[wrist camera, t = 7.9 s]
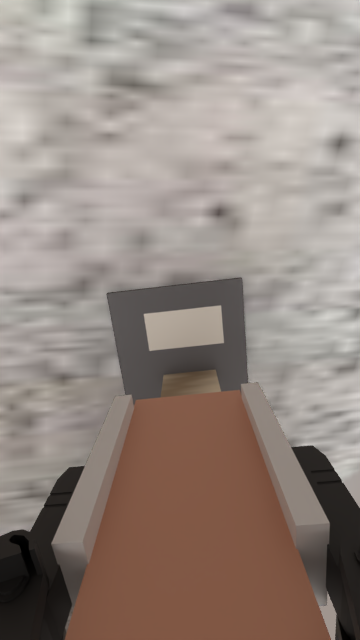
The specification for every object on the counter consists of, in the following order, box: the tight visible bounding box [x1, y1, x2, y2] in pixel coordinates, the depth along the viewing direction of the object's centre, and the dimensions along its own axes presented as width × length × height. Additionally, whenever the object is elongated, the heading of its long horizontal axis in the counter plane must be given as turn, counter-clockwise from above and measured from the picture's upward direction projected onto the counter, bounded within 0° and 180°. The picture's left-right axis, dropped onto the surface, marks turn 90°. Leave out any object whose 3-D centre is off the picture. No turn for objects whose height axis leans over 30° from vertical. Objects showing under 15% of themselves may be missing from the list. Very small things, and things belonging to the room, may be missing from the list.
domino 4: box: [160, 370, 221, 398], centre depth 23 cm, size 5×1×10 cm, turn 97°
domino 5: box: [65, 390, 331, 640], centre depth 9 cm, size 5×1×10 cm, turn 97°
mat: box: [107, 278, 248, 405], centre depth 29 cm, size 12×26×1 cm, turn 7°
